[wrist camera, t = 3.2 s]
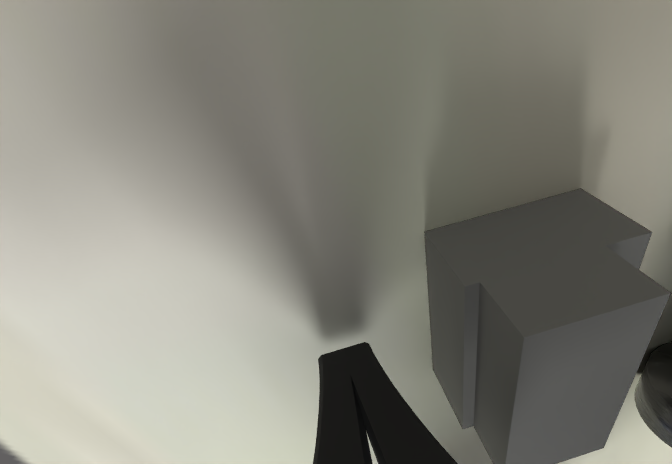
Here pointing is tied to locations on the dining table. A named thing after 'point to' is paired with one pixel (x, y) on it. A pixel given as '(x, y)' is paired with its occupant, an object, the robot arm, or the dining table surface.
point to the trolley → (657, 393)
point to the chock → (540, 323)
